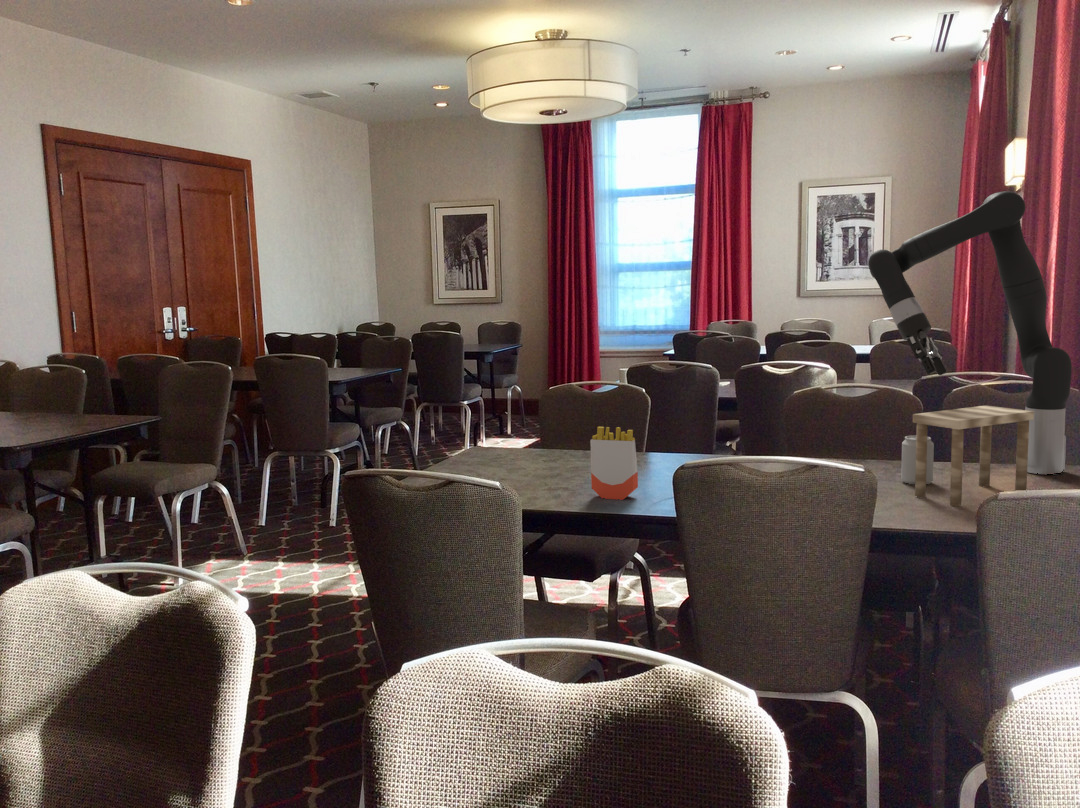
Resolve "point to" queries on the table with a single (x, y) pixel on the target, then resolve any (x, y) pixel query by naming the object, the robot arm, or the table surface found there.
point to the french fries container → (613, 464)
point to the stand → (958, 423)
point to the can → (910, 460)
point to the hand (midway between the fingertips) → (937, 373)
